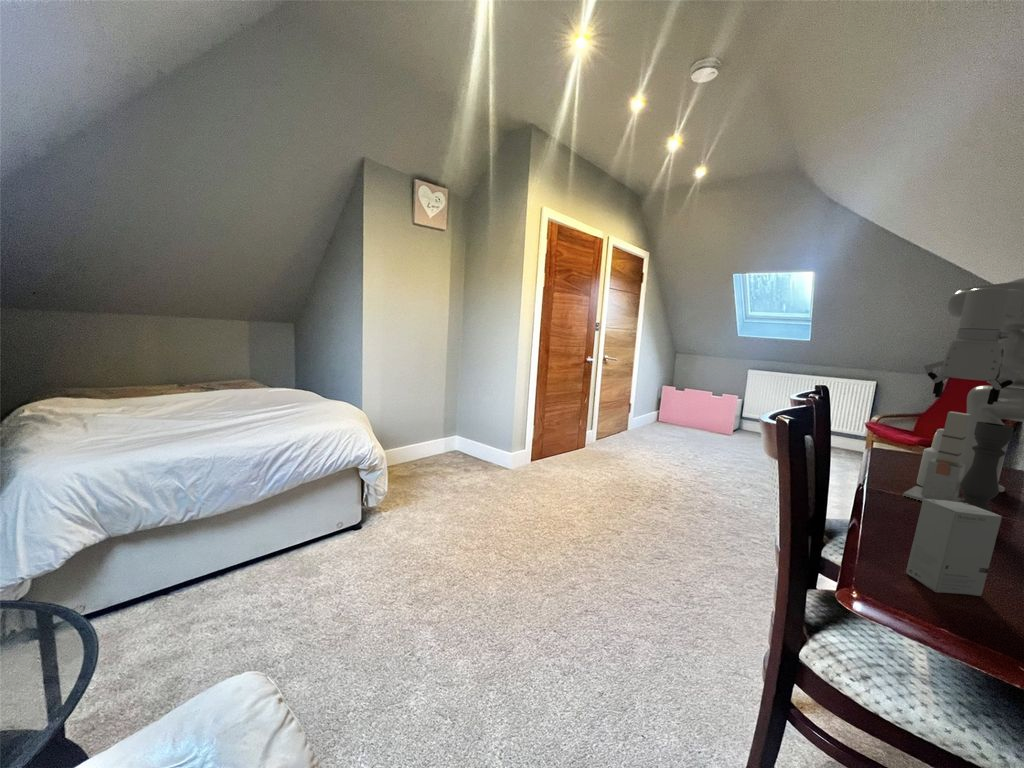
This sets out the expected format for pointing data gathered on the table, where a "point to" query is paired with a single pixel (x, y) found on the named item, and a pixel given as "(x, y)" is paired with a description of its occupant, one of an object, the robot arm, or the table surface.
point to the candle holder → (985, 464)
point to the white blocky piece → (939, 482)
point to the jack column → (953, 437)
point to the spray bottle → (929, 456)
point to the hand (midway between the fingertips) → (963, 400)
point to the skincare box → (953, 546)
